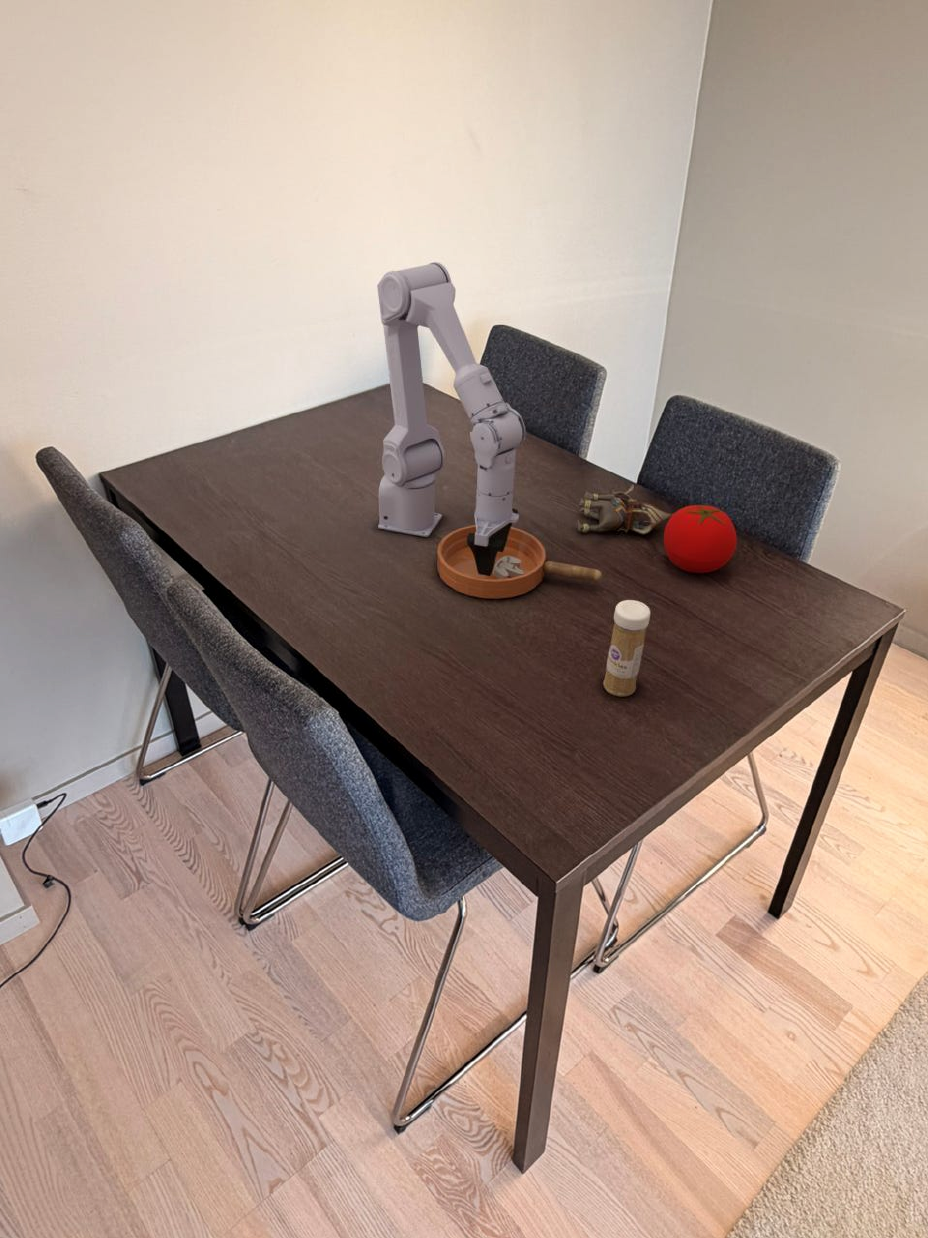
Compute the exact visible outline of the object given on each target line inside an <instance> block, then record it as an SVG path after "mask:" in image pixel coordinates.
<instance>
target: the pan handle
mask: <svg viewBox="0 0 928 1238" xmlns="http://www.w3.org/2000/svg"><path fill="white" fill-rule="evenodd" d="M543 570H544V573H546V574H549V575H556V576H560V577H567V578H572V579H578V580H583V581H587V582H593V583H598V582H601V580H602V579H603V573H602V571H601V570H599V569H598V568H597V569H596V568H591V567H585V566H579V565H574V564H568V563H563V562H558V561H552V560H547V561H545V563H544V566H543Z"/></svg>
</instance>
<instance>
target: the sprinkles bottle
mask: <svg viewBox="0 0 928 1238" xmlns="http://www.w3.org/2000/svg"><path fill="white" fill-rule="evenodd" d="M650 619H651V609H650V607H649V606H647V604H645V603H644V602H641V601H639V600H634V599H625V600H622V601H620V602H618V603H617V604H616V605H615V608H614V614H613V622H614V624H613V628H612V635H611V640H610V646H609V649H608V655H607V661H606V669H605V674H604V675H605V677H604V680H603V683H602V685H603V687H604V690H606V692H607V693H609V694H610V695H612V696H615V697H620V698H621V697H622V698H623V697H629V696H631V695H633V694H634V692H636V689H637V685H636V683H637V679H638V675H639V671H640V666H641V660H642V655H643V650H644V644H645V638H646V632H647V628H648V625H649V624H650Z"/></svg>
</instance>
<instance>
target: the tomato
mask: <svg viewBox="0 0 928 1238" xmlns="http://www.w3.org/2000/svg"><path fill="white" fill-rule="evenodd" d="M672 514H673V513H672ZM737 545H738V537H737V532H736V529H735V526H734V524H733V522H732V520H731V518H730V516H728V514H727V513H725V512H724V511H723V510H721V509H719V508H717V507H715V506H713V505H705V504H704V505H703V504H697V503H696V504H693V505H688V506H685V507H682V508H680V509H678V510H677V511H676V512H674V514H673V515H672V516H671V517H669V518H668V521H667V523H666V525H665V528H664V532H663V546H664V551H665V554H666V556H667V559H669V561H670V562H671V563H672V564H673V566H676V567H677V568H678V569H680V570H682V571H684V572H688V573H692V574H693V573H695V574H707V573H711V572H715V571H717V570H719V569H721V568H722V567H724V566H725V565H726V564H727V563H728V562H729V561H730V560H731V558H732V557H733V556H734V554H735V552H736V549H737Z"/></svg>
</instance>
